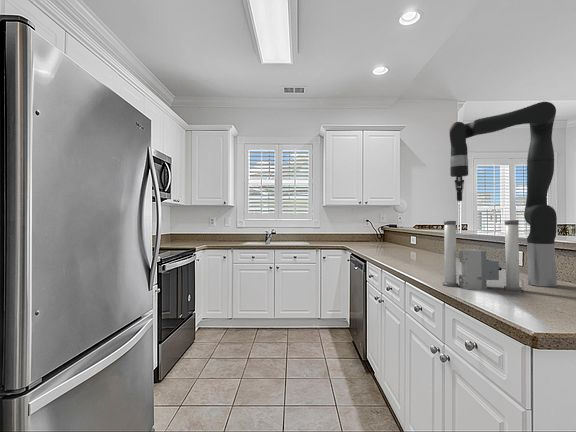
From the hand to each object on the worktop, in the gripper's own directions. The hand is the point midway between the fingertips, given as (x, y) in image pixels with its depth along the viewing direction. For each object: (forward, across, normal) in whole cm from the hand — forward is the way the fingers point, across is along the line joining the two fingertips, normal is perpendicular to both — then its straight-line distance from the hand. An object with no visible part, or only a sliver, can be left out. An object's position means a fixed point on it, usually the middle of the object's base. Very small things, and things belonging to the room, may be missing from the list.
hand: (459, 200), depth 162 cm
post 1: (+36, -20, +4) cm, 42 cm away
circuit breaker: (+36, -20, -7) cm, 42 cm away
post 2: (+36, -21, -18) cm, 45 cm away
